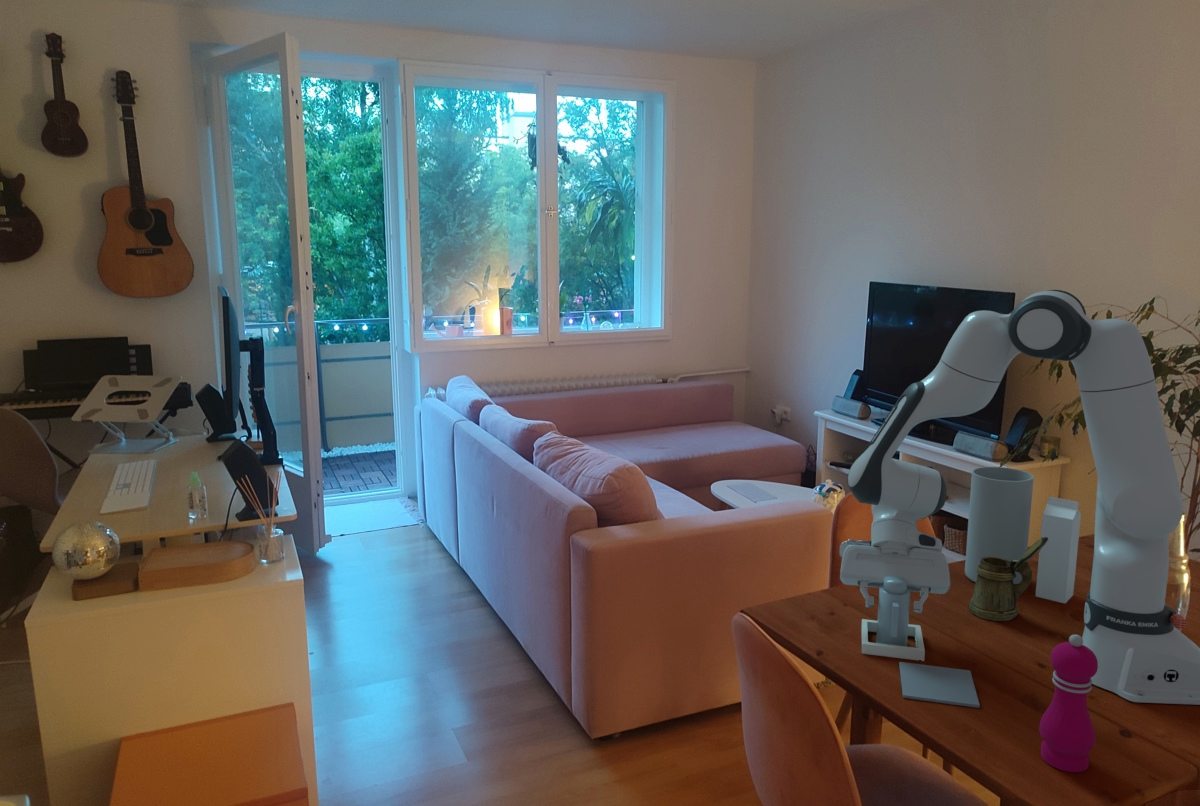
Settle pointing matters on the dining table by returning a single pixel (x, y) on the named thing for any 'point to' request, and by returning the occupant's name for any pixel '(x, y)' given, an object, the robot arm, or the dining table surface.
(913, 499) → the robot arm
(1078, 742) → the pepper mill
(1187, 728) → the dining table surface
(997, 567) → the wooden mug
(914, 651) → the holder
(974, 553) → the cylinder vase
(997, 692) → the dining table surface
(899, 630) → the blue capped bottle
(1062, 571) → the milk
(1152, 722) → the dining table surface
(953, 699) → the mat
